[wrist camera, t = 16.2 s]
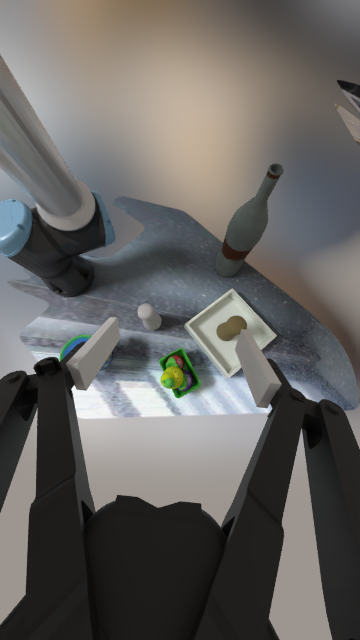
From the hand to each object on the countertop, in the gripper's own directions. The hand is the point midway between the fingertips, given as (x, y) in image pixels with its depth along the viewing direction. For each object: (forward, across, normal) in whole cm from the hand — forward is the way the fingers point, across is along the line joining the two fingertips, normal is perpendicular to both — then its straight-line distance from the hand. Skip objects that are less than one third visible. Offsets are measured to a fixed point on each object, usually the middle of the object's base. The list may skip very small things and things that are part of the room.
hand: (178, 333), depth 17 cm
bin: (+29, +15, -18) cm, 37 cm away
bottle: (+46, +15, -1) cm, 48 cm away
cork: (+28, +15, -17) cm, 36 cm away
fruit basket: (+19, +1, -28) cm, 33 cm away
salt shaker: (+29, -9, -17) cm, 35 cm away
